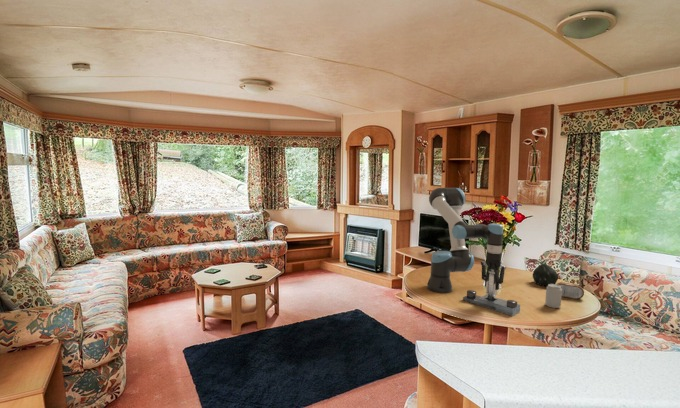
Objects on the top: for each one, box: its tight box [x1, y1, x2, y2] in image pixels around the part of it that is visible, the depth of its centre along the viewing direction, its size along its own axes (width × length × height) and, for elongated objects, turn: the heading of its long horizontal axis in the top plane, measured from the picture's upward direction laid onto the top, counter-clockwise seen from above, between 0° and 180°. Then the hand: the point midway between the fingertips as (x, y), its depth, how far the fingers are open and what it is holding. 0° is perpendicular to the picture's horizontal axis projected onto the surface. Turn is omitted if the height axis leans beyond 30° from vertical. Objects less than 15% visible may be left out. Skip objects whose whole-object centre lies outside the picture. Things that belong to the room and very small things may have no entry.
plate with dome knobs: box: [462, 289, 521, 317], centre depth 203 cm, size 28×9×6 cm, turn 41°
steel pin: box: [487, 269, 496, 301], centre depth 202 cm, size 5×5×17 cm
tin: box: [556, 281, 585, 300], centre depth 220 cm, size 15×3×8 cm, turn 59°
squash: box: [532, 263, 559, 287], centre depth 243 cm, size 14×15×15 cm
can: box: [544, 283, 562, 309], centre depth 205 cm, size 8×8×12 cm
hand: (491, 294), depth 203 cm, fingers closed on steel pin, 3 cm apart
